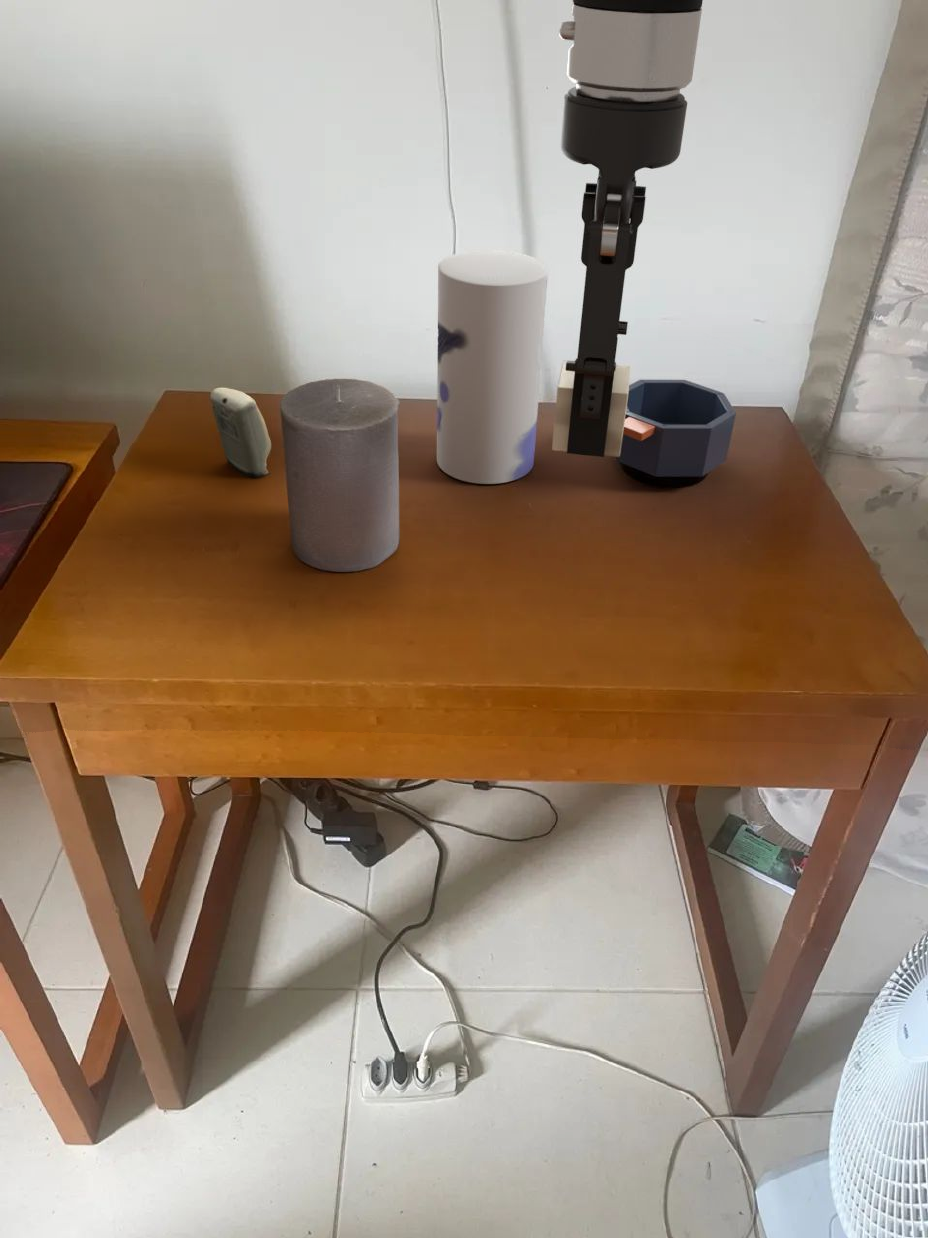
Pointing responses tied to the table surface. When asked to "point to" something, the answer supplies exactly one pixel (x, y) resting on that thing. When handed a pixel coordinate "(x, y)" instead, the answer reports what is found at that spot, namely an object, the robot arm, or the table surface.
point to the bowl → (675, 428)
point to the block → (615, 414)
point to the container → (489, 363)
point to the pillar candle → (342, 473)
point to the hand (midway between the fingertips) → (587, 434)
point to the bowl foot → (661, 478)
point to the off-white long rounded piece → (241, 431)
